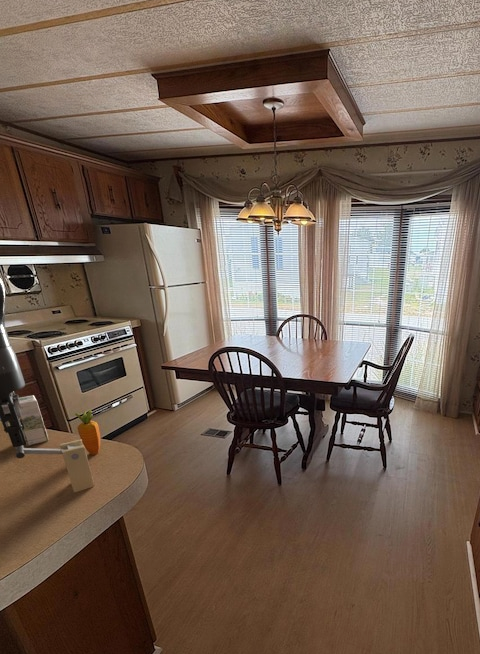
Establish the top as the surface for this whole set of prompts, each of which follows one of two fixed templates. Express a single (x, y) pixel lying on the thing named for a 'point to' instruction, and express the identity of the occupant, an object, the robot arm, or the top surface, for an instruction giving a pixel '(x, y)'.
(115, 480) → the top surface
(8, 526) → the top surface
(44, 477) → the top surface
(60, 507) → the top surface
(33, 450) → the lever
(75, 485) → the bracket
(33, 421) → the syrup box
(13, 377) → the robot arm
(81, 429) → the carrot
